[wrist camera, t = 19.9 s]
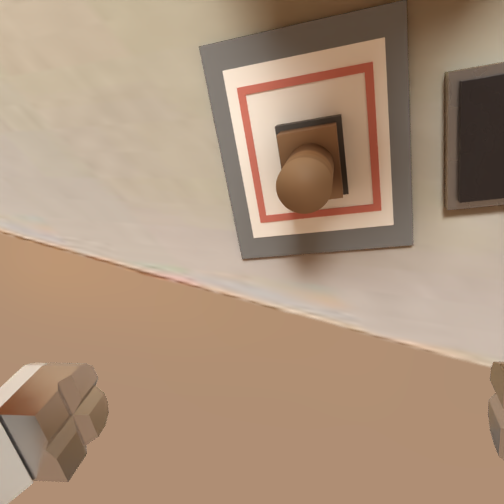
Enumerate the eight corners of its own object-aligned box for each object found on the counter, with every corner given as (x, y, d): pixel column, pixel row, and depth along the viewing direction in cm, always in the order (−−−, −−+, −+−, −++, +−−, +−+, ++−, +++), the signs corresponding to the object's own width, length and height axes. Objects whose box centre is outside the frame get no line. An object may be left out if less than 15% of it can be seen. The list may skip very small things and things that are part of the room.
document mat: (200, 46, 31) (198, 46, 31) (405, 0, 27) (406, -2, 27) (243, 257, 38) (241, 259, 37) (412, 243, 34) (413, 246, 34)
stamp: (277, 125, 32) (255, 143, 24) (341, 113, 31) (340, 129, 23) (288, 197, 34) (271, 236, 26) (348, 190, 33) (350, 229, 25)
